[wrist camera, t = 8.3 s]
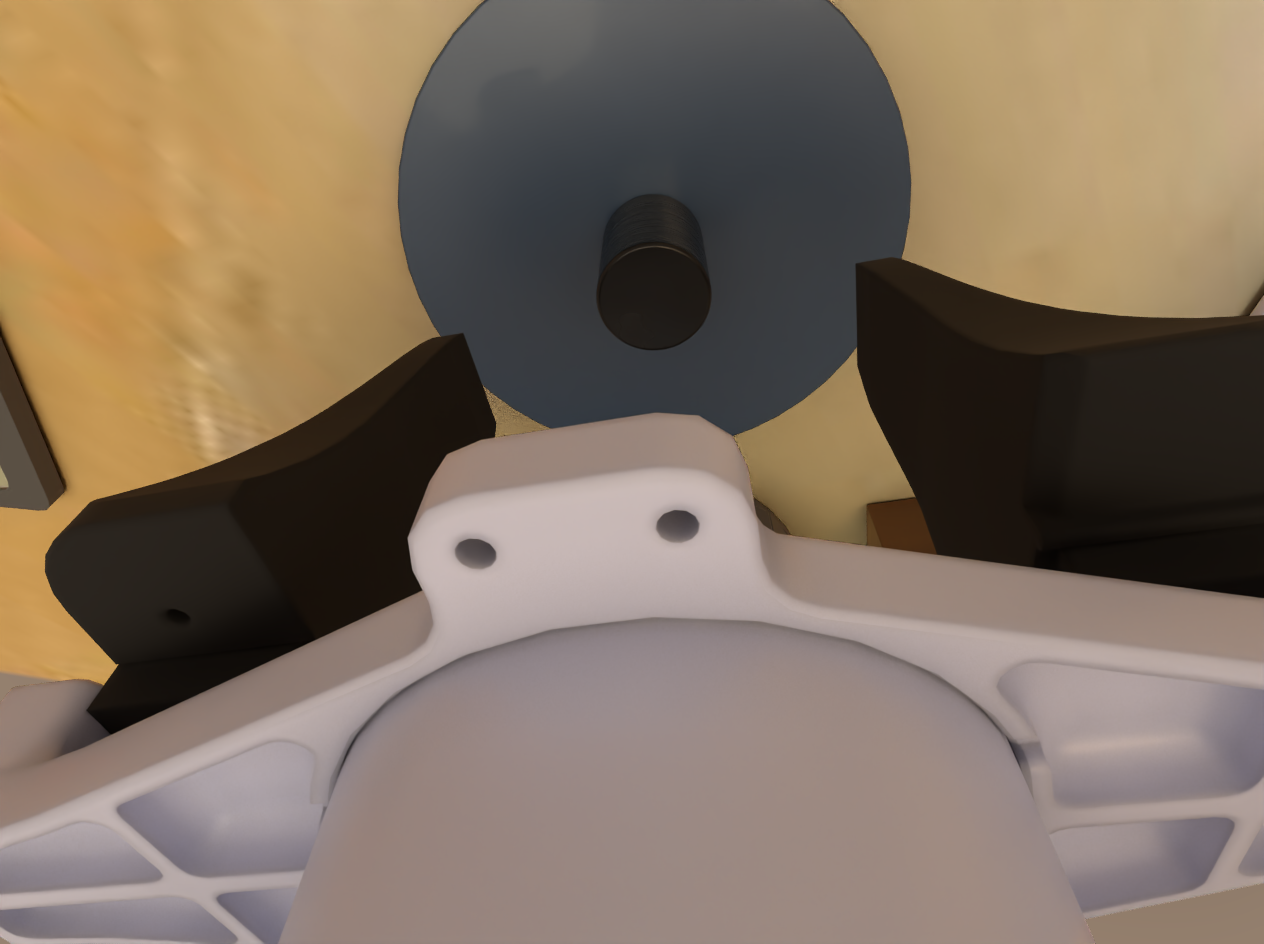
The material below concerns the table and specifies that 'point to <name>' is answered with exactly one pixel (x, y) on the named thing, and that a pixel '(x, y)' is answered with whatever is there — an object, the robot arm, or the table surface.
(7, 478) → the calculator
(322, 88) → the table surface
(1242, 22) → the table surface
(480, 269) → the lid
